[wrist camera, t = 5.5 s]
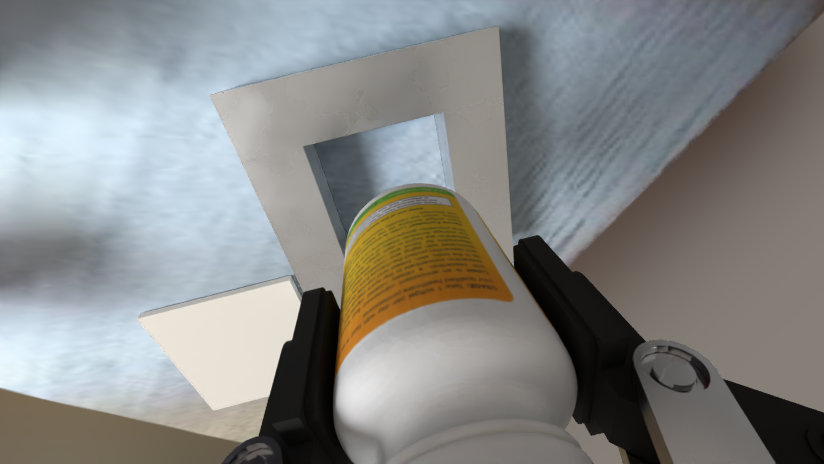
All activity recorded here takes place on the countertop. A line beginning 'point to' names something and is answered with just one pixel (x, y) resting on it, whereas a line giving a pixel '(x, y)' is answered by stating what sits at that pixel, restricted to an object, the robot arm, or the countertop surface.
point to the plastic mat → (228, 339)
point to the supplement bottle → (445, 343)
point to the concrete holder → (361, 111)
